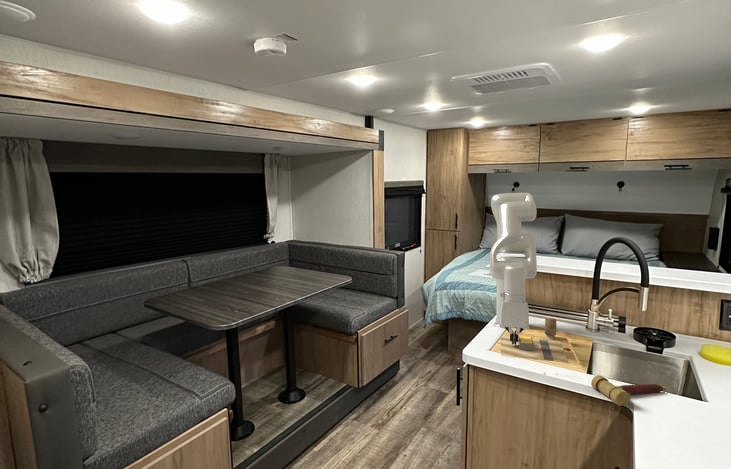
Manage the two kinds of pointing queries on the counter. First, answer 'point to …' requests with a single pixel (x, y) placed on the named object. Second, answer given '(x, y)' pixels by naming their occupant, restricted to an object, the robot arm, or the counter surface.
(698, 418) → the counter surface
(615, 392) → the gavel
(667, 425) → the counter surface
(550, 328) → the brown grey cylinder
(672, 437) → the counter surface
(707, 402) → the counter surface
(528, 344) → the stud finder
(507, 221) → the robot arm
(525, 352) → the subfloor board
